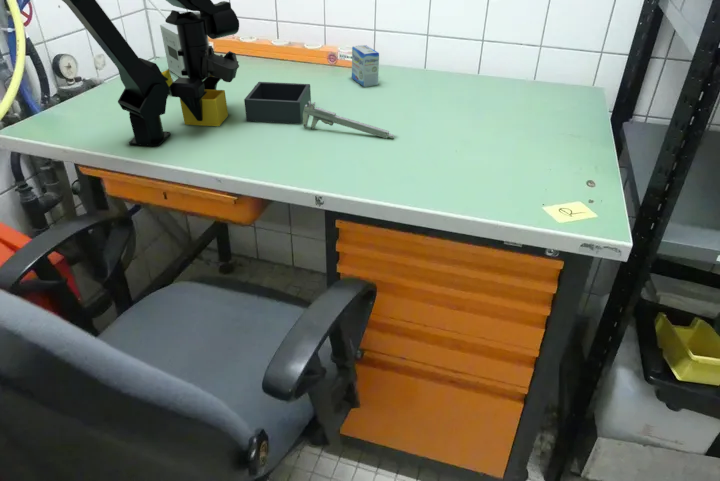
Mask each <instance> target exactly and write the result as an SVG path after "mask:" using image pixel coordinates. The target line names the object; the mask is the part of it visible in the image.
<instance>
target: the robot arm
mask: <svg viewBox="0 0 720 481" xmlns="http://www.w3.org/2000/svg"><path fill="white" fill-rule="evenodd" d="M61 1H62V2H63V3H64V4H65V5H66V6H67V7H68V8H69V9H70V11H71V12H72V13H73V14H74V16H75V17H76V18H77V19H78V21H79V22H80V23H81V24H82V25H83V27H84V28H85V29H86V31H87V32H88V33H89V34H90V35H91V37H92V38H93V39H94V41H95V42H96V43H97V45H98V46H99V47H100V48H101V50H102V51H104V53H105V55H107V57H108V58H109V59H110V60H111V62H112V63H113V64H114V66H115V67H116V68H117V71H118V75H119V79H120V81H121V83H122V84H123V86H124V89H123V91H122V93H121V95H120V96H119V98H118V99H117V103H118V105H119V107H120V108H121V109H122V110H123V111H126V112H128V115H129V122H130V125H131V128H132V133H133V138H132V139H130V140H129V142H128V144H129V145H130V146H143V147H160V146H161V145H162V144H163V143H164V142H165V141H166V140H167V139H168V138H169V137H170V136H171V132H170V131H165V130H164V128H163V123H162V118H161V116H162V115H165V114H166V109H167V100H168V97H169V95H170V97H172V98H179V100H180V99H181V100H182V101H183V102H184V103H185V105H186V106H187V107H188V109H189V110H190V111H191V113H192V114H193V115H194V117H195V118H196V119H197V121H202V120H203V110H202V98H203V97H204V96H205V94H206V93H207V91H204V90H205V89H210V90H217V87H218V83H219V82H220V81H221V80H222V81H223V82H226V83H232V82H233V80H234V79H235V78H236V76H237V71H238V69H239V68H240V64H239V62H240V61H238V58H237V55H236V53H235V52H233V51H230V50H229V51H227V53H226V54H224V55H223V54H220V55H219V54H216V53H215V49H214V47H213V45H209V46H208V41H209V39H211V40H216V39H221V38H225V37H229V36H233V35H236V34H237V33H238V32H239V31H240V19H239V18H238V16H237V13H236V12H235V11H234V9H233V8H232V4H231V2H230V1H225V0H223V1H219V2H217V3H214V2H213V1H212V0H165V1H166V2H167V3H169V4H170V5H171V6H173V7H177V8H180V9H184V10H188V11H185V12H179V11H178V10H175V9H172V10H170V13H169V15H168V16H167V17H166V18H165V24H168V23H169V24H173V25H176V26H177V31H178V36H179V42H180V47H181V49H180V50H178V51H177V52H178V56H182V58H183V64H184V69H183V70H181V73H182V76H188V77H189V78H180V77H178V78H176V79H175V80H173V81H174V82H173V83H172V84H171V85H170V86H168V84H167V82H166V81H167V80H168V78H166V77H164V76H163V74H162V71H161V69H160V67H159V66H158V64H157V63H156V62H153V61H150V60H148V59H145V58H142V57H139V56H138V55H137V54H136V52H135V51H134V49H133V48H132V47H131V45H130V44H129V43H128V41H127V40H126V39H125V37H124V36H123V35H122V33H121V32H120V30H119V29H118V28H117V27H116V26H115V24H114V23H113V22H112V20H111V19H110V18H109V16H108V15H107V13H106V12H105V11H104V9H103V8H102V6H100V4H99V3H98V1H97V0H61ZM193 12H200V14H196V15H195V14H194V13H193ZM207 36H208V38H209V39H208V40H207ZM169 90H170V93H169Z"/></svg>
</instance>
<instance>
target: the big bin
mask: <svg viewBox="0 0 720 481" xmlns="http://www.w3.org/2000/svg"><path fill="white" fill-rule="evenodd" d="M311 94H312V92H311V84H310V83H295V82H291V83H290V82H272V81H258V82H257V83H256V85H254V87H253V88H252V90H251V91H249V92H248V94H247V95H246V97H245V98H244V99H243V102H244V112H245V118H246V122H254V123H255V122H256V123H275V124H290V125H291V124H294V125H301V124H303V111H304V107H305V105H308V102H309V101H311V102H312V95H311Z"/></svg>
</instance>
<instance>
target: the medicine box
mask: <svg viewBox="0 0 720 481" xmlns="http://www.w3.org/2000/svg"><path fill="white" fill-rule="evenodd" d="M379 69H380V53H379V51H377V50H375V49H373V48H372V47H370V46H368V45H367V44H366V45H365V44H364V45H363V44H361V45H353V46H352V47H351V79H352V80H353V81H354V82H356V83H358V84H359V85H361V86H362V87H363V88H366V87H375V86H379Z"/></svg>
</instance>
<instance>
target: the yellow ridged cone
mask: <svg viewBox="0 0 720 481" xmlns="http://www.w3.org/2000/svg"><path fill="white" fill-rule="evenodd" d="M161 73H162V74H163V76H164V77H166V78H168V80H167V81H166V82H167V84H168V86H170V85H171V84H172V83H173V82H174V81H175V80H174V79H173V77H172V74H171V71H170V70H169V69H166V70H164V71H161ZM169 94H170V90H169Z"/></svg>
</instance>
